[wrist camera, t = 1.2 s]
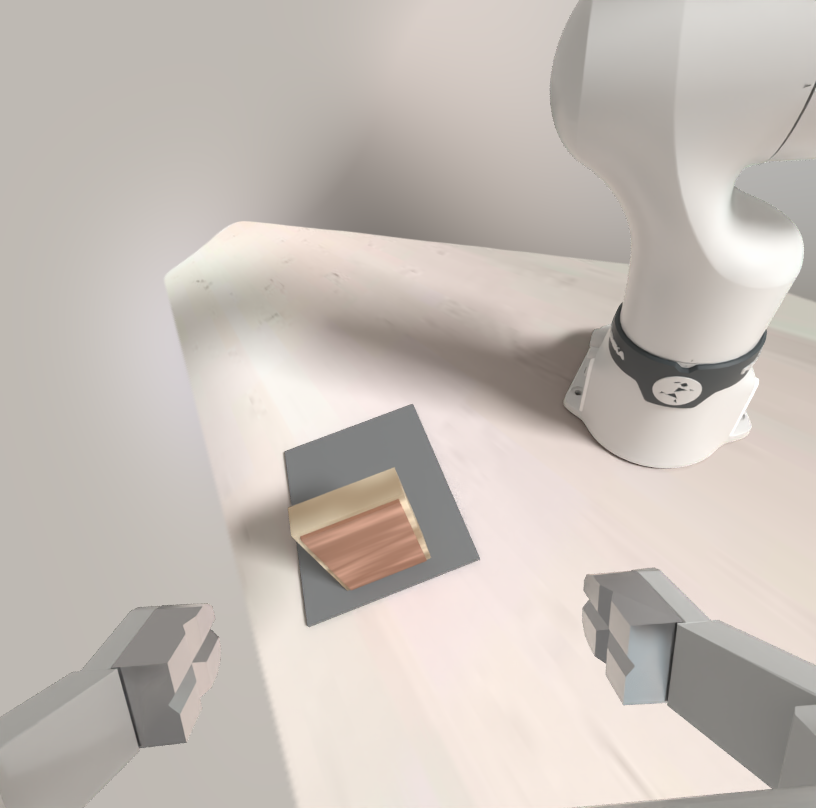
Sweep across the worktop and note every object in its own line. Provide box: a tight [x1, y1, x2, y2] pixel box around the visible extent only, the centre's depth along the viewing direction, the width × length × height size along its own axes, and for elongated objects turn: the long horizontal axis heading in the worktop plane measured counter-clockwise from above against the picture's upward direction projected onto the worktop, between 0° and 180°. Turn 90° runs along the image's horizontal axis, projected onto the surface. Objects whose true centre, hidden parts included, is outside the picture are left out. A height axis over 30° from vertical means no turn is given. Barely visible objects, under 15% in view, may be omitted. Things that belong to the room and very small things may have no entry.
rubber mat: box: [285, 404, 480, 627], centre depth 49 cm, size 22×18×1 cm
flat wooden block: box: [288, 467, 431, 591], centre depth 38 cm, size 3×9×14 cm, turn 108°
